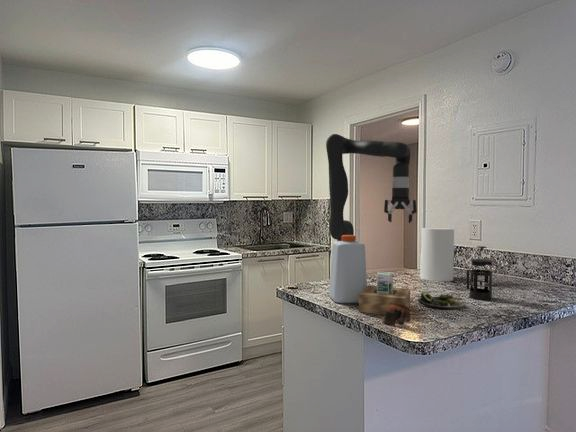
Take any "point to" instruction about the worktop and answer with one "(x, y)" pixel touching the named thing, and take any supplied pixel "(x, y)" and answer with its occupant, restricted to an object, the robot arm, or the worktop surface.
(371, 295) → the slot block
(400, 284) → the worktop surface
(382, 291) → the syrup box
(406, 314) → the pottery mug
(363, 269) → the plastic bottle
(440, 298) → the salad plate
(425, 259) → the cylinder
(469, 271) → the french press
